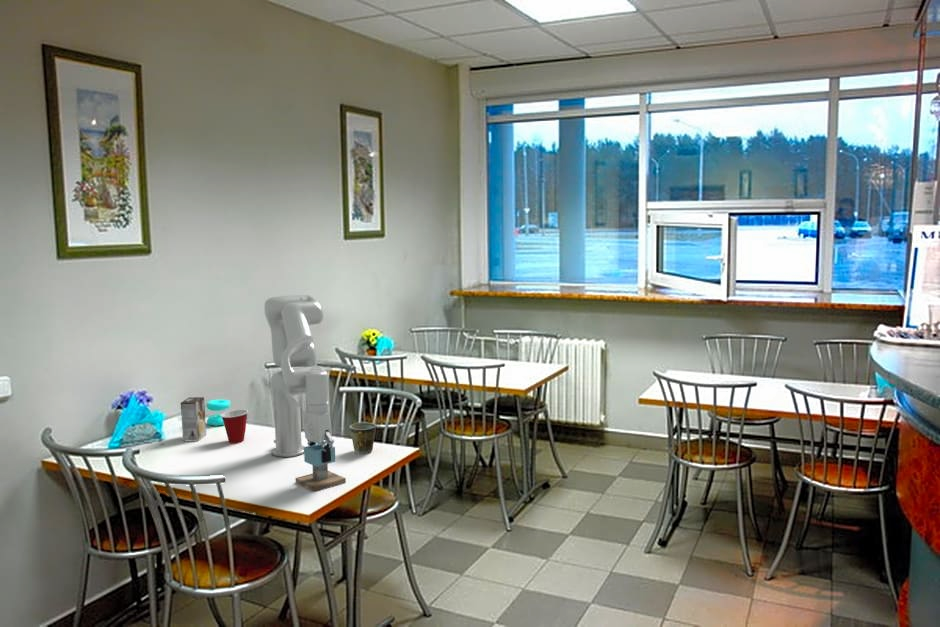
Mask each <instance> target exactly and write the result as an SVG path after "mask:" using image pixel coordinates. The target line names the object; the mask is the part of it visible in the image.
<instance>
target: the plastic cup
mask: <svg viewBox="0 0 940 627" xmlns="http://www.w3.org/2000/svg"><path fill="white" fill-rule="evenodd" d="M248 413H249V410H248V409H235V410H229V411H225V412H223V413H220V414H221V415H220V416H221V417H222V419H223V422H224V425H223V426H224V429H225V433H226V435H227V440H228V441H227V442H228V443H229V442H230V444H239V443H238V442H240V443H243V442H244V440H245V436H246V428H247V420H248ZM242 441H243V442H242Z"/></svg>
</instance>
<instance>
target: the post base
mask: <svg viewBox="0 0 940 627" xmlns="http://www.w3.org/2000/svg"><path fill="white" fill-rule="evenodd" d="M328 464H329V463H328ZM328 464H325V465H321V466H317V467H316V466H313V465H312V473H308V474H306V475H302V476H298V477H295V483H296V484H298V485H300V486H301V487H302V486H303V487H304V488H306V487H307V488H306V489H308V488H309V490H310V489H311V490H310V491H312V490H313V492H314V491H315V492H317V491H322V490H324V488H325V489H328V488H327V487H329V488H331V487H330V486H332V487H335V486H334V485H336V486H339V485H342V484H345V482H347V481H346V479H347V478H346V477H344V476H341V475H339V474H337V473H334V472H332V471H330V470H328V468H329V466H328ZM341 483H342V484H341ZM338 484H339V485H338ZM321 489H322V490H321Z"/></svg>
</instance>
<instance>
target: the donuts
mask: <svg viewBox="0 0 940 627" xmlns="http://www.w3.org/2000/svg"><path fill="white" fill-rule="evenodd" d="M230 406H231V401H230V400H228V399H224V398H221V399H219V398H218V399H213V400H209V401H208V402H206V404H205V407H206V408H207V410H210V411H212V412H220V411H224V410H227V409H229V408H230ZM221 414H222V413H219V414H214V415H210V416H208V418H207V419H206V423H207V425H209V426H211V425H215V426H214V427H219V426H218V425H223V426H225V425H224V422H223V419H222V417H221V416H220V415H221Z"/></svg>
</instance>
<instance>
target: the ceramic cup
mask: <svg viewBox="0 0 940 627" xmlns="http://www.w3.org/2000/svg"><path fill="white" fill-rule="evenodd" d="M376 430H377V424H375V423H372V422H366V421H365V422H356V423H353V424H351V425H349V431H350V437H351V441H352V446H353V450H354V453H355V452H356V454H358V453H359V454H358V455H366V453H367V454H371V453H372V451H373V448H374V442H375V435H376V432H377V431H376Z"/></svg>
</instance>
